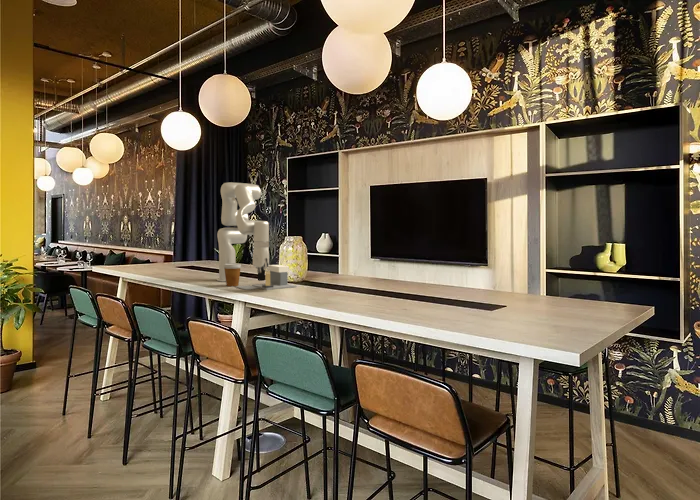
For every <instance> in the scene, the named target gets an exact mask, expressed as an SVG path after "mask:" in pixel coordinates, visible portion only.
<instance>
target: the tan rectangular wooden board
mask: <svg viewBox="0 0 700 500" xmlns="http://www.w3.org/2000/svg"><path fill="white" fill-rule="evenodd" d="M264 281H265V283H264V284H266V286H270V271H267V270H265V280H264Z"/></svg>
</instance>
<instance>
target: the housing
mask: <svg viewBox="0 0 700 500" xmlns="http://www.w3.org/2000/svg"><path fill="white" fill-rule="evenodd" d="M288 273H289V272H273V271H270V286H266V283H257V284H256V283H255V284H252V285H251V286H254V287H258V288H260V289H261V290H265V291H269V290H281V289H291V288H293V289H294V288H297V285H295V284H290V283H288V281H289V280H288V278H289V277H288Z"/></svg>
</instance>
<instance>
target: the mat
mask: <svg viewBox="0 0 700 500" xmlns="http://www.w3.org/2000/svg"><path fill="white" fill-rule="evenodd" d="M236 287H237V288H236ZM234 288H236V289H240V290H244V291H249V290H250V291H251V289H252V290H260V289H261V288H258V287H254V286H252V285H250V284H249V285H248V284H247V285H238V286H234Z"/></svg>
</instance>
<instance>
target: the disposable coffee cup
mask: <svg viewBox="0 0 700 500" xmlns="http://www.w3.org/2000/svg"><path fill="white" fill-rule="evenodd" d="M241 268H242V265H241V263H232V264H224V269H225V277H226V282H225V284H226V287H231V286H233V287H235V286H240V285H239V282H240V274H241Z"/></svg>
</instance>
